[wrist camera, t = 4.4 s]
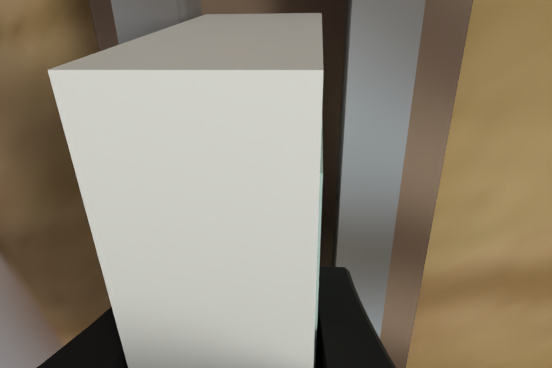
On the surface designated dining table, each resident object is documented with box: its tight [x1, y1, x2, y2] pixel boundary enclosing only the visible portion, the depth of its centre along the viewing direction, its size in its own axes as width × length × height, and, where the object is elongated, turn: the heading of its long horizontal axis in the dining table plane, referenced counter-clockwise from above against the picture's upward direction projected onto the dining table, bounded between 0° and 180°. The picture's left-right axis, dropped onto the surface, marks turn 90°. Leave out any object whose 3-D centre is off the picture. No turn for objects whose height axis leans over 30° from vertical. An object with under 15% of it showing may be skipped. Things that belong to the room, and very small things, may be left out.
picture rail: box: [89, 0, 473, 368], centre depth 13 cm, size 22×10×3 cm, turn 1°
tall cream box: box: [48, 13, 323, 368], centre depth 9 cm, size 12×3×6 cm, turn 1°
